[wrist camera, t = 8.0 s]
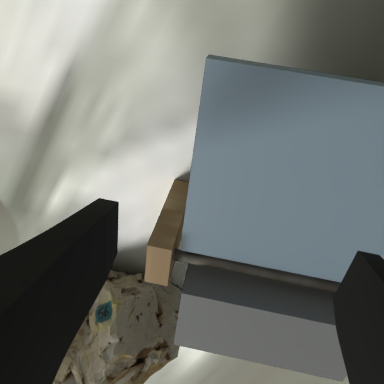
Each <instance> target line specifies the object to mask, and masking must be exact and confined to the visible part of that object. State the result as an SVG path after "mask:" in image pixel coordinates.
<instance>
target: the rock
mask: <svg viewBox="0 0 384 384" xmlns="http://www.w3.org/2000/svg"><path fill="white" fill-rule="evenodd" d="M181 294H182V291H181V290H180V289H179V288H178V287H176V286H174V285H173V284H172V283H170V282H169V283H168V286H164V285H159V284H154V283H149V282H145V273H138V274H136V275H133V274H131V275H127V273H125V272H117V271H113V270H110V272H109V275H108V277H107V280H106V282H105V284H104V286H103V287H102V289H101V291H100V293H99V295H98V297H97V298H96V300H95V302H94V304H93V306H92V307H91V309H90V311H89V313H88V315H87V316H86V318H85V320H84V322H83V324H82V325H81V327H80V329H79V331H78V333H77V334H76V336H75V338H74V340H73V341H72V343H71V345H70V347H69V349H68V351H67V353H66V355H65V357H64V359H63V361H62V363H61V365H60V368H59V370H58V372H57V375H56V377H55V379H54V381H53V384H143V383H144V382H145V381H146V380H147V379H148V378H149V377H150V376H151V375H152V374H154V373H155V372H157V371H158V370H160V369H161V368H163V367H164V366H165V365H166V364H167V363H168V362H170V361H171V360H173V359H175V358H176V357H177V356H178V351H179V347H180V346H179V345H174V339H175V333H176V326H177V320H178V313H179V307H180V300H181Z"/></svg>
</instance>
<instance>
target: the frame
mask: <svg viewBox="0 0 384 384" xmlns="http://www.w3.org/2000/svg"><path fill="white" fill-rule="evenodd" d="M188 187H189V182H186V181H181V180H176V179H175V180H174V182H173V185H172V187H171V190H170V192H169V194H168V197H167V199H166V201H165V204H164V206H163V209H162V211H161V213H160V216H159V218H158V220H157V223H156V225H155V228H154V230H153V232H152V235H151V237H150V239H149V242H148V244H147V252H146V267H145V282H149V283H154V284H159V285H164V286H168V283H169V280H170V276H171V273H172V269H173V266H174V263H175V261H180V262H185V263H190V264H195V265H200V266H205V267H210V268H215V269H220V270H225V271H229V272H234V273H239V274H244V275H249V276H254V277H259V278H264V279H269V280H274V281H279V282H283V283H288V284H293V285H298V286H303V287H308V288H313V289H318V290H323V291H328V292H333V293H336V291H337V289H338V287H339V286H340V284H341V282H336V281H331V280H326V279H321V278H316V277H311V276H306V275H301V274H296V273H291V272H286V271H281V270H276V269H271V268H266V267H261V266H257V265H252V264H247V263H242V262H237V261H232V260H227V259H222V258H217V257H212V256H207V255H202V254H197V253H192V252H187V251H182V250H180V245H181V238H182V231H183V223H184V216H185V209H186V201H187V194H188Z"/></svg>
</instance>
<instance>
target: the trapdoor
mask: <svg viewBox="0 0 384 384" xmlns="http://www.w3.org/2000/svg"><path fill="white" fill-rule="evenodd" d="M180 250H182V251H187V252H192V253H197V254H202V255H207V256H212V257H217V258H222V259H227V260H232V261H237V262H242V263H247V264H252V265H257V266H261V267H266V268H271V269H276V270H281V271H286V272H291V273H296V274H301V275H306V276H311V277H316V278H321V279H326V280H331V281H336V282H342V280H343V278H344V276H345V274H346V272H347V270H348V268H349V266H350V264H351V263H352V261H353V259H354V257H355V255H356V253H357V251H362V252H367V253H372V254H377V255H380V256H381V257H382V258H383V259H384V82H378V81H371V80H365V79H359V78H353V77H346V76H340V75H334V74H327V73H321V72H315V71H309V70H302V69H296V68H290V67H283V66H277V65H271V64H265V63H258V62H252V61H246V60H240V59H233V58H227V57H221V56H214V55H208V56H207V58H206V63H205V70H204V77H203V85H202V92H201V99H200V107H199V114H198V121H197V128H196V136H195V143H194V150H193V158H192V165H191V172H190V179H189V187H188V194H187V201H186V209H185V216H184V223H183V231H182V238H181V245H180ZM334 295H335V293H333V292H328V291H323V290H318V289H313V288H308V287H303V286H298V285H293V284H288V283H283V282H279V281H274V280H269V279H264V278H259V277H254V276H249V275H244V274H239V273H234V272H229V271H225V270H220V269H215V268H210V267H205V266H200V265H195V264H190V263H189V264H188V269H187V273H186V277H185V281H184V285H183V289H182V294H181V300H180V307H179V313H178V320H177V326H176V333H175V339H174V345H179V346H184V347H188V348H193V349H197V350H202V351H206V352H211V353H215V354H220V355H224V356H229V357H233V358H238V359H242V360H247V361H251V362H256V363H260V364H265V365H269V366H274V367H278V368H283V369H288V370H292V371H297V372H301V373H306V374H310V375H315V376H319V377H324V378H328V379H333V380H337V381H343V380H344V378H345V377H346V375H347V371H346V368H345V364H344V360H343V356H342V352H341V348H340V344H339V340H338V336H337V331H336V324H335V316H334V305H333V297H334Z"/></svg>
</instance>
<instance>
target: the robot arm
mask: <svg viewBox="0 0 384 384" xmlns="http://www.w3.org/2000/svg"><path fill="white" fill-rule="evenodd" d="M118 203H119V202H115V201H110V200H105V199H101V198H99V199H97V200H95V201H94V202H92V203H91V204H89V205H87V206H86V207H84V208H83V209H81V210H79V211H78V212H76V213H75V214H73V215H71V216H70V217H68V218H67V219H65V220H63V221H62V222H60V223H58V224H57V225H55V226H53V227H52V228H50V229H49V230H47V231H45V232H43V233H41V234H40V235H38V236H36V237H34V238H32V239H30V240H29V241H27V242H25V243H23V244H21V245H19V246H18V247H16V248H14V249H12V250H10V251H8V252H6V253H4V254H2V255H0V384H53V381H54V379H55V377H56V375H57V372H58V370H59V368H60V365H61V363H62V361H63V359H64V357H65V355H66V353H67V351H68V349H69V347H70V345H71V343H72V341H73V340H74V338H75V336H76V334H77V333H78V331H79V329H80V327H81V325H82V324H83V322H84V320H85V318H86V316H87V315H88V313H89V311H90V309H91V307H92V306H93V304H94V302H95V300H96V298H97V297H98V295H99V293H100V291H101V289H102V287H103V286H104V284H105V282H106V280H107V277H108V275H109V272H110V270H111V268H112V265H113V262H114V260H115V257H116V255H117V242H118ZM333 305H334V316H335V324H336V331H337V336H338V340H339V344H340V348H341V352H342V356H343V360H344V364H345V368H346V371H347V375H348V379H349V383H350V384H384V259H383V258H382V257H381V256H380V255H377V254H372V253H367V252H362V251H357V253H356V255H355V257H354V259H353V261H352V263H351V264H350V266H349V268H348V270H347V272H346V274H345V276H344V278H343V280H342V282H341V284H340V286H339V287H338V289H337V291H336V293H335V295H334V297H333Z"/></svg>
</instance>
